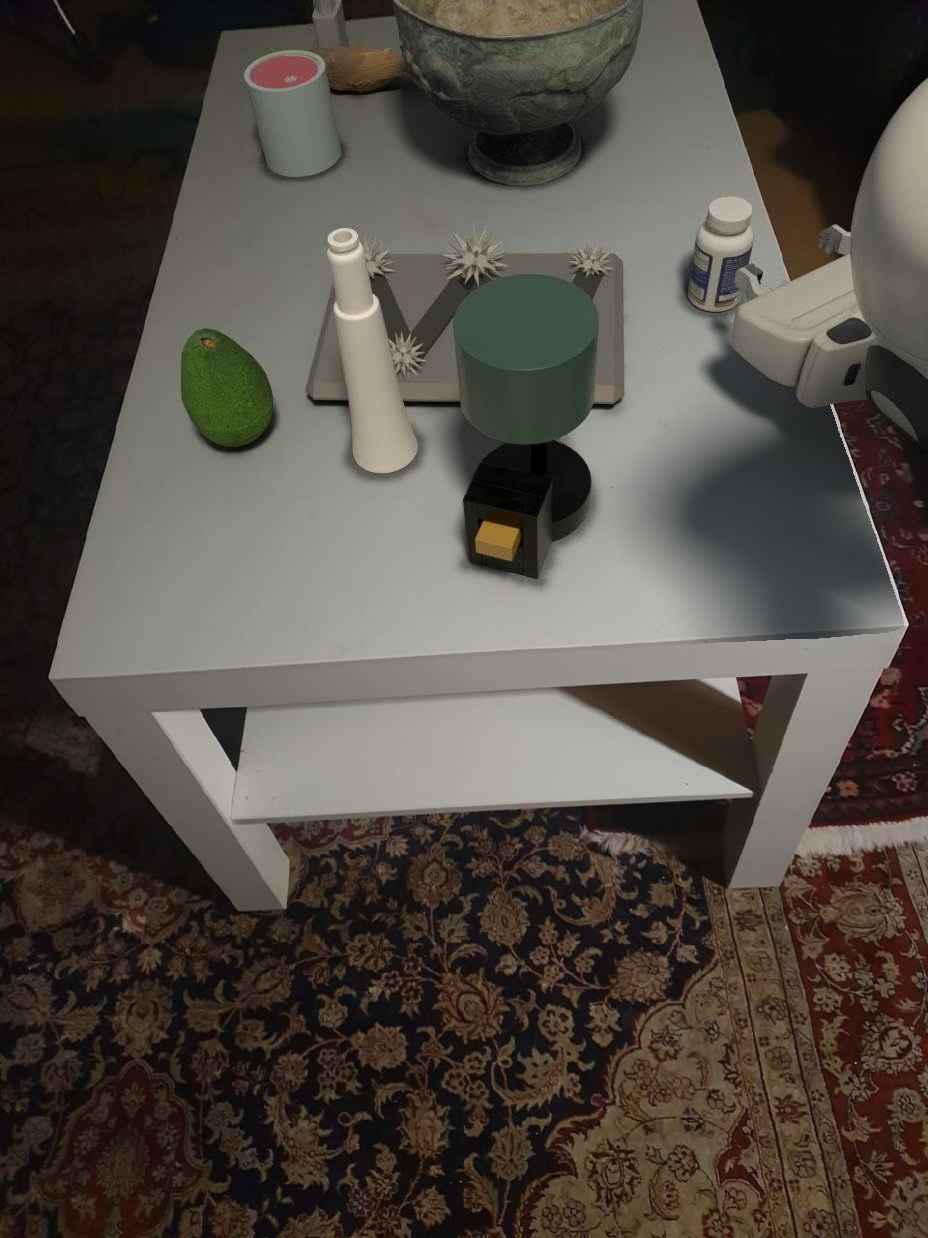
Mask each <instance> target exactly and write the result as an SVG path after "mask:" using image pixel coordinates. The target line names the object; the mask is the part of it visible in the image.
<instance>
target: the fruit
mask: <svg viewBox="0 0 928 1238" xmlns="http://www.w3.org/2000/svg"><path fill="white" fill-rule="evenodd" d="M273 395H274V394H273V389H272V386H271V383H270V381H269V378H268V375H267V373H266V371H265V370H264V369H263V367H262V365H261V364H260V363H259V361H258V360H257V359H256V358H255V357H254V356H253V354H251V353H250V352H249V351H247V350H246V349H245V348H244V347H242V346H241V345H240V344H239V343H237V342H236V341H235V340H234V339H233V338H231V337H230V336H229V335H226V334H225V333H223V332H222V331H219V330H218V329H213V328H207V327H205V328H201V329H197V330H195V331H194V332H193V333H192V334H191V335H190V336H189V337H188V339H187V340H186V342H185V344H184V346H183V348H182V350H181V356H180V398H181V402H182V404H183V406H184V409H185V411H186V413H187V415H188V418H189V420H190V421H191V422H192V424H193V425H194V426H195V427H196V428H197V429H198V432H200V433H201V434H202V435H204V437H206V438H207V439H208V440H210V441H212V442H213V443H214V444H217V445H220V446H223V447H227V448H238V447H239V448H240V447H243V446H245V445H249V444H251V443H252V442H254V441H256V440H257V439H259V437H260V436H261V435H262V433H263V432H264V431H265V430H266V429H267V427H268V425H269V423H270V422H271V419H272V415H273V408H274V396H273Z"/></svg>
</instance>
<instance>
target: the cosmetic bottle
mask: <svg viewBox="0 0 928 1238" xmlns="http://www.w3.org/2000/svg"><path fill="white" fill-rule="evenodd" d="M358 238H359V235H358V232H357V231H356V230H354V229H352V228H350V227H341V228H337V229H335V230H332V231H331V232H330V233H329V234H328V235H327V245H328V248H327V251H326V257H327V263H328V266H329V269H330V270H329V271H330V275H331V279H332V285H334V289H335V294H336V298H337V300H336V302H335V304H334V316H335V322H336V329H337V335H338V341H339V347H340V353H341V358H342V364H343V370H344V375H345V381H346V387H347V393H348V399H349V400H348V405H349V412H350V422H351V437H352V439H351V440H352V441H351V443H352V446H351V447H352V449H351V450H352V451H351V452H352V453H351V454H352V457H353V459H354V461H355V463H356V464H357V465H358V466H359V468H362V470H365V471H367V472H370V473H374V474H389V473H394V472H397V471H399V470H402V469H403V468H405V467H407V466H408V465H410V463H411V462H412V461H413V460H414V459H415V457H416V455H417V453H418V449H419V443H418V440H417V437H416V435H415V433H414V430H413V427H412V425H411V422H410V418H409V416H408V413H407V410H406V407H405V403H404V401H403V399H402V395H401V391H400V388H399V383H398V379H397V375H396V371H395V366H394V362H393V357H392V353H391V349H390V344H389V340H388V336H387V331H386V327H385V323H384V319H383V315H382V311H381V307H380V303H379V300H378V298H377V297H376V296H375V295H374V294H372V289H371V284H370V278H369V273H368V267H367V262H366V256H365V251H364V247H363V245H362V242H361V243H360V242H359V239H360V238H359V239H358Z"/></svg>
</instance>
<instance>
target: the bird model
mask: <svg viewBox="0 0 928 1238" xmlns="http://www.w3.org/2000/svg"><path fill="white" fill-rule="evenodd" d="M308 51H309V52H312V53H315V54H317V55H319V56H320V57H321V58H322V59H323V60H324V62H325V67H326V72H327V77H328V83H329V88H330V89H332V90H336V91H341V92H342V91H346V92H349V91H355V92H359V93H361V94H362V93H363V92H369V91H373V90H377V89H379V88H381V87H384V86H386V85H388V83H389V82H392V81H393V80H395V79H396V78H397V77H399V76H403V75H405V74H407V75H409V76H410V74H409V72H408V69H407V67H406V65H405V62H404V60H403V57H402V53H401V54H400V53H397V52H396V53H395V52H392V48H390V47H386V48H384V49H383V50H380V49H376V48H364V47H360V46H358V45H354V46H353V45H352V46H349V47H342V46H336V47H331V48H318V47H315V48H314V47H313V48H311V49H309V50H308Z"/></svg>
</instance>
